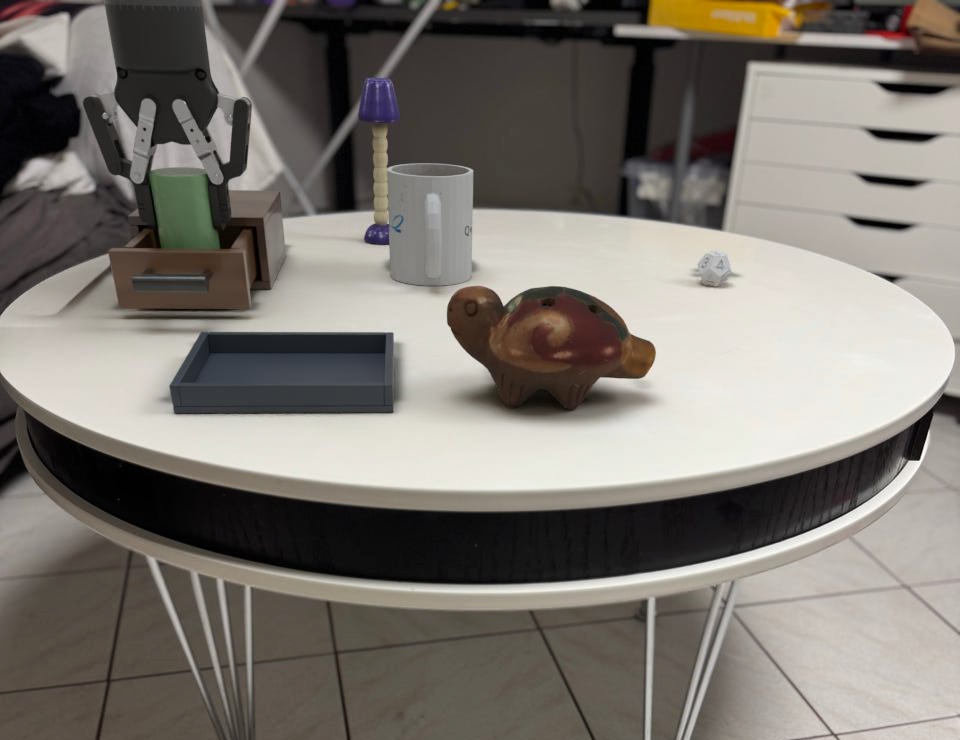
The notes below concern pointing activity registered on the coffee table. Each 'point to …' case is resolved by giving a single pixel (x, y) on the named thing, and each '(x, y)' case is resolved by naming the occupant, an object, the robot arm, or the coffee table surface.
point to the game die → (714, 268)
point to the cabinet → (251, 212)
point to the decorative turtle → (546, 341)
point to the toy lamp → (379, 148)
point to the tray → (286, 373)
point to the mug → (430, 223)
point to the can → (183, 208)
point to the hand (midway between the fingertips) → (187, 227)
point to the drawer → (186, 272)
